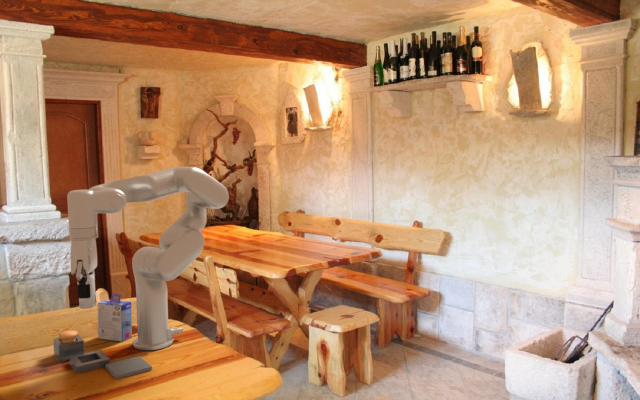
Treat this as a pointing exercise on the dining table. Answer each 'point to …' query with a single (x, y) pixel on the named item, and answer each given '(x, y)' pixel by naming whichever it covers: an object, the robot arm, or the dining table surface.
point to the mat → (128, 367)
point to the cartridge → (91, 301)
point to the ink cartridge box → (114, 319)
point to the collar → (81, 367)
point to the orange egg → (68, 336)
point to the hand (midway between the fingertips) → (87, 294)
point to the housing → (68, 348)
